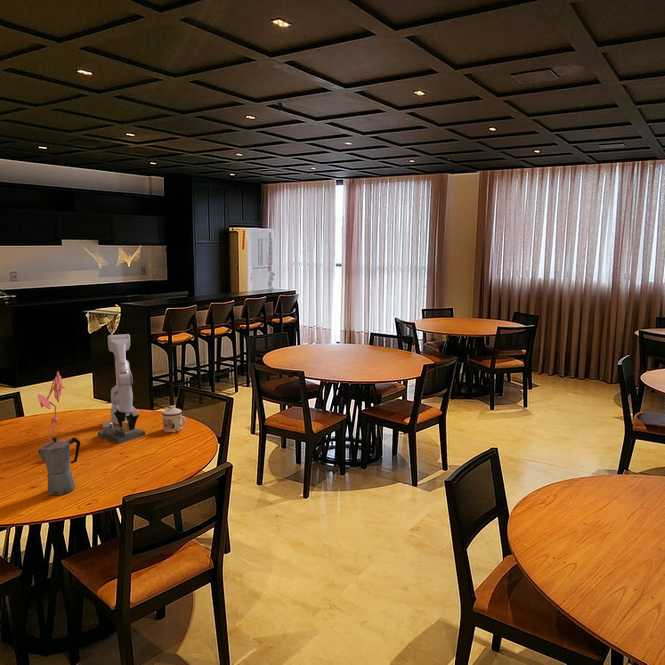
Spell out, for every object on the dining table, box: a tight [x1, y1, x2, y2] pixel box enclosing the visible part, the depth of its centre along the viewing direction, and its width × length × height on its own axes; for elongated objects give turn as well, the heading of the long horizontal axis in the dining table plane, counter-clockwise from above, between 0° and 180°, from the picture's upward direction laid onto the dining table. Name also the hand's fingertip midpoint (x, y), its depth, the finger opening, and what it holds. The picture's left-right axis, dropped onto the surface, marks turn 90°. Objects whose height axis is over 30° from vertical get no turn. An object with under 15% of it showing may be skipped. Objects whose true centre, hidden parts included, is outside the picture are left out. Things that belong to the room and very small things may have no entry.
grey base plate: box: [97, 420, 146, 444], centre depth 267 cm, size 16×14×6 cm
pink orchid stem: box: [37, 371, 82, 465], centre depth 242 cm, size 15×26×35 cm, turn 16°
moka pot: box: [36, 436, 81, 496], centre depth 208 cm, size 10×15×20 cm, turn 146°
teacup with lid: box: [161, 405, 187, 433], centre depth 275 cm, size 12×9×12 cm
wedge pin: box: [122, 421, 129, 431], centre depth 266 cm, size 3×3×7 cm
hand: (127, 428), depth 266 cm, fingers open, 7 cm apart
